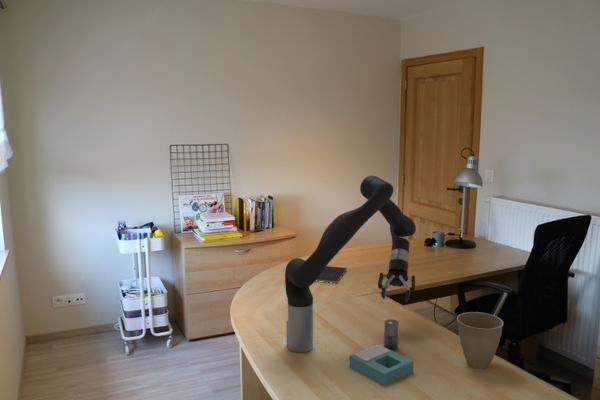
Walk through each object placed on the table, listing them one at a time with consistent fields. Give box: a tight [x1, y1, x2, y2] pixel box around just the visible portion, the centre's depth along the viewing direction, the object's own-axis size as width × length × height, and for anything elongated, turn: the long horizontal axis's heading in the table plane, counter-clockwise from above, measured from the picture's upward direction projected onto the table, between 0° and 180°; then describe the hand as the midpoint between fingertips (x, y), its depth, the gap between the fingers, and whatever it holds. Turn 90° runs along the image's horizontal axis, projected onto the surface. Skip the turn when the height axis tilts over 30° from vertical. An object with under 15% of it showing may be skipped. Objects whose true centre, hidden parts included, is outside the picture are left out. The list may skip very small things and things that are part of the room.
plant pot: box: [456, 311, 504, 370], centre depth 175 cm, size 15×15×16 cm
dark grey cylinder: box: [383, 318, 399, 352], centre depth 188 cm, size 5×5×10 cm
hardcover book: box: [316, 265, 347, 284], centre depth 273 cm, size 16×23×2 cm
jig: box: [349, 344, 414, 387], centre depth 172 cm, size 16×14×5 cm
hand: (394, 299), depth 196 cm, fingers open, 8 cm apart
